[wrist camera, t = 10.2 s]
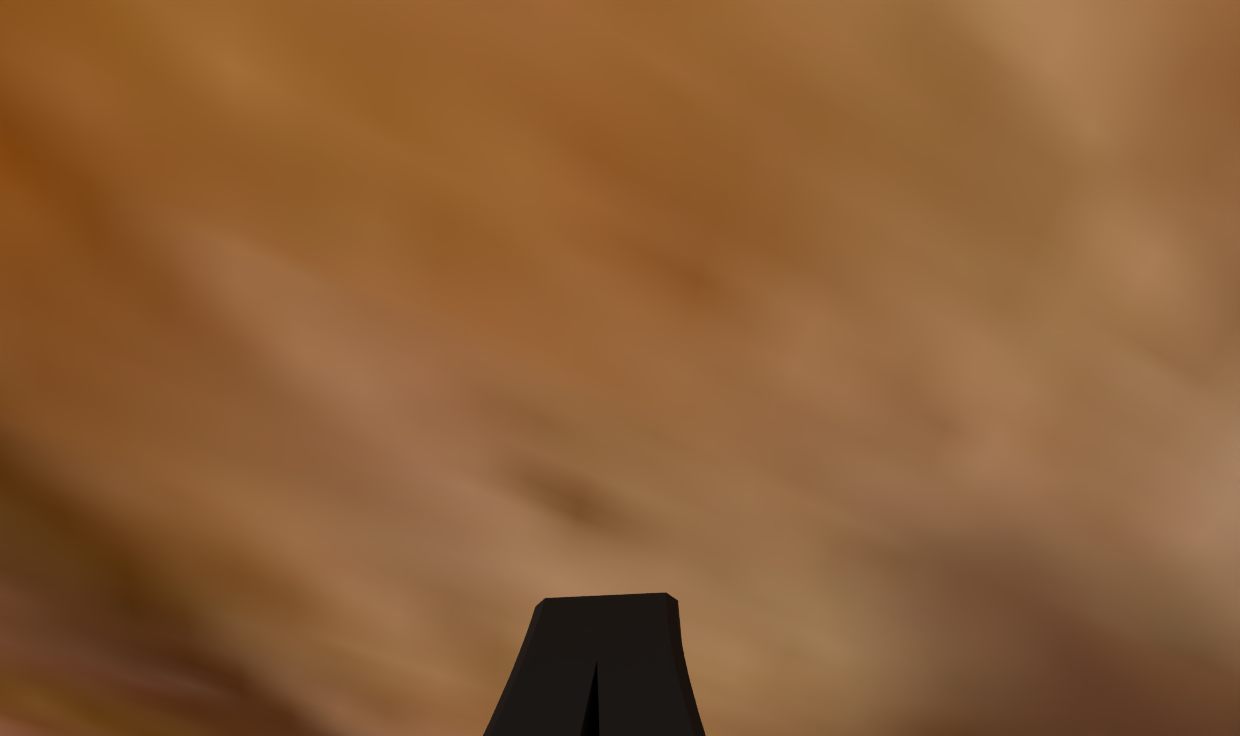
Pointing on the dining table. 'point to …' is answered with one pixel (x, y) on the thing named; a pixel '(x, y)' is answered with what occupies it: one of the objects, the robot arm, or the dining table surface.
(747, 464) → the dining table surface
